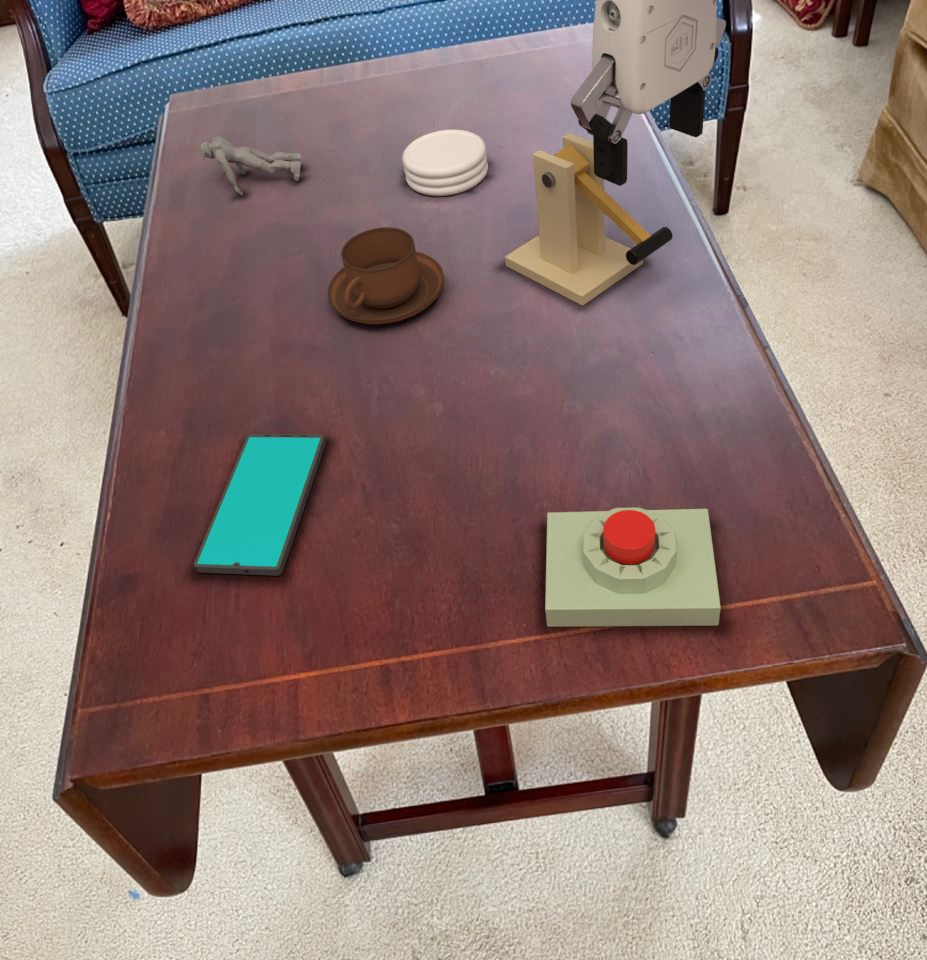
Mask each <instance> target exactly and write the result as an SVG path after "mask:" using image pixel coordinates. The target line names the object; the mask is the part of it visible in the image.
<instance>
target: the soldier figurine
mask: <svg viewBox="0 0 927 960" xmlns="http://www.w3.org/2000/svg"><path fill="white" fill-rule="evenodd" d="M210 141H211V142H209V140H205V141H203V142H201V144H200V147H199V151H200V154H201V158H202V160H203V161H205V158H207V159H211V160H212V159H213V160H214V159H215V161H216V162H217V164H218V166H220V167H221V169H222V170H223V172H225V174H226V175H225V176H226V178H227V180H228V181H229V183H230V184H231V185H232V186H233V188H234V191H235V192H236V193H237V194H238V195H240V196H242V197H243V196H244V193H243V192H242V191H241V190H240V188H239V186H238V182H237V177H236V174H235V172H234V170H233V169H232V167H231V165H230V164H235V165H236V167H237V170H238V172H239V173H240V174H242V175H245V174H246V173H247V171H246V170H247V168H250V169H253V170H256V171H259V172H260V171H262V172H264V171H265V172H267V173H270V174H275V173H277V172H278V171H281V170H286V171H288V170H289V171H290V172H291V173H292V174H293V179H294V181H296V182H299V181H300V174H301V164H302V160H301V159H302V153H301V152H294V153H293V152H292V153H291V152H287V153H286V152H283V151H277V152H274V153H272V154H268V153H266V152H264V151H261V150H259V149H257V148H256V149H255V148H253V147H249V146H245V145H244V146H238V147H236V146H234V144H233V143H232V142H230V141H229V140H228V139H225V138H224V137H223V136H221V135H219V136H213V137H212V138H211V139H210Z"/></svg>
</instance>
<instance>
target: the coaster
mask: <svg viewBox="0 0 927 960" xmlns="http://www.w3.org/2000/svg"><path fill="white" fill-rule="evenodd" d="M401 159H402V161H401V162H402V164H403V171H404V174H405V182H406V183H407V185H408V187H409V188H410V189H412V190H413V191H415V192H417V193H419V194H422V195H424V196H425V195H426V196H432V197H446V196H452V195H458V194H462V193H465V192H467V191H469V190H471V189H473V188H474V187H476V186H477V185H478V184H480V183H481V182H482V181H483V180H484V179H485V177H486V176H487V174H488V171H489V163H488V154H487V145H486V143H485V140H484V139H483V138H482V137H480V136H479V135H478V134H476V133H474V132H472V131H468V130H463V129H442V130H436V131H433V132H429V133H426V134H424V135H421V136H419V137H417V138H416V139H414V140H413V141H412V142H410V143H409V144H408V145H407V146H406V147H405V149H404V151H403V153H402V157H401Z"/></svg>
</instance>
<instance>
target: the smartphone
mask: <svg viewBox="0 0 927 960" xmlns="http://www.w3.org/2000/svg"><path fill="white" fill-rule="evenodd" d="M326 444H327V440H326V438H325V435H324V434H322V433H249V434H247V435H246V437H245V439H244V442H243V444H242V446H241V449H240V452H239V454H238V456H237V459H236V461H235V463H234V466H233V469H232V470H231V473H230V476H229V478H228V480H227V483H226V485H225V487H224V490H223V493H222V495H221V497H220V499H219V502H218V505H217V506H216V509H215V512H214V513H213V516H212V519H211V521H210V523H209V526H208V528H207V530H206V533H205V536H204V538H203V540H202V543H201V544H200V547H199V550H198V553H197V555H196V557H195V559H194V562H193V566H194V568H195V570H196V572H197V573H201V574H223V575H224V574H225V575H226V574H227V575H250V576H251V575H252V576H274V577H275V576H281V575H282V574H283V572H284V569H285V565H286V564H287V561H288V558H289V556H290V552H291V548H292V545H293V542H294V540H295V537H296V533H297V531H298V528H299V525H300V522H301V519H302V515H303V514H304V510H305V507H306V504H307V501H308V499H309V495H310V492H311V489H312V487H313V484H314V480H315V477H316V473H317V471H318V469H319V465H320V462H321V460H322V459H321V458H322V457H323V454H324V451H325V447H326Z"/></svg>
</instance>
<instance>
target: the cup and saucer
mask: <svg viewBox="0 0 927 960" xmlns="http://www.w3.org/2000/svg"><path fill="white" fill-rule="evenodd" d="M340 252H341V253H340V257H341V260H342V264H343V267H342V268H341V269H340V270H338V272H337V273H336V274H335V275H334V276H333V278H332V279H331V281H330V282H329V285H328V287H327V298H328V301H329V303H330V306H331V307H332V308H333V310H334V311H335V312H336V313H337V314H338V315H340V316H341V317H343V318H345V319H346V320H350V321H352V322H355V323H359V324H364V325H387V324H392V323H398V322H401V321H405V320H407V319H410V318H412V317H414V316H416V315H418V314H419V313H421V312H423V311H424V310H426V309H427V308H428V307H429V306H431V304H433V302H435V301H436V300H437V298H438V297H439V295H440V294H441V292H442V289H443V287H444V281H445V273H444V270H443V268H442V266H441V265H440V263H439V262H438V261H437V260H436V259H435V258H433V257H432V256H429V255H428V254H425V253H423V252H420V251H417V250H416V244H415V239H414V238H413V236H412V235H411V233H409V232H407V231H406V230H403V229H401V228H397V227H386V226H384V227H383V226H382V227H376V228H370V229H367V230H365V231H362V232H359V233H357V234H355V235H354V236H352V237H351V238H350V239H348V240H347V241H346V242H345V244H344V245H343V247H341V251H340Z"/></svg>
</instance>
